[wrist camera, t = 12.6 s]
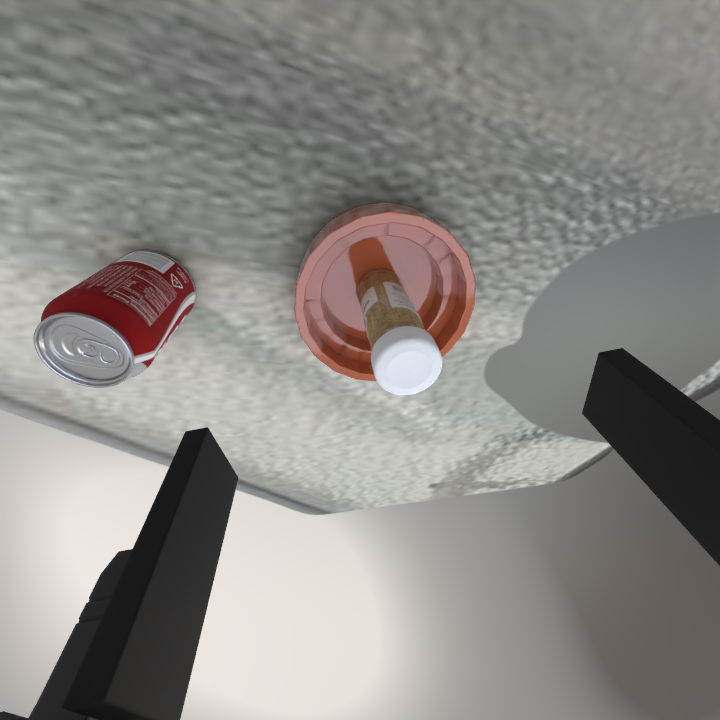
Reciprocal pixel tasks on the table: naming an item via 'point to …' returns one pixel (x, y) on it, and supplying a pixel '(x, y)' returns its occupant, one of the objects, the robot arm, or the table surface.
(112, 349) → the soda can
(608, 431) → the robot arm
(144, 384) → the table surface
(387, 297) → the sprinkles bottle
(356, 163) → the table surface
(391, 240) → the bowl
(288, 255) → the table surface
